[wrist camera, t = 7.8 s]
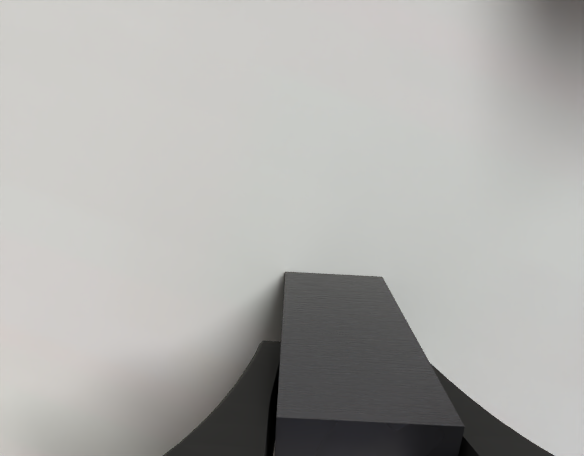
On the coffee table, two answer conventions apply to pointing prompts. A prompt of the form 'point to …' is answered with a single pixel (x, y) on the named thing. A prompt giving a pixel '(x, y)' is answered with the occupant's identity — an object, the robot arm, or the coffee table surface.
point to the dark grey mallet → (356, 375)
